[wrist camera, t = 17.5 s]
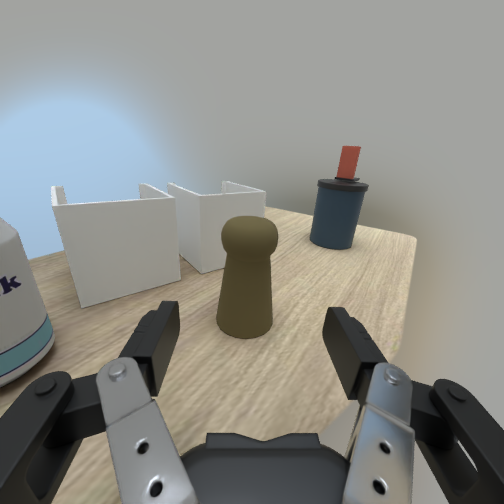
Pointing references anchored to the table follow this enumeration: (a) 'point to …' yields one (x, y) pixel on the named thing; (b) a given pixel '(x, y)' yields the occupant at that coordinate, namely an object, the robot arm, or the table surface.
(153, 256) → the storage container
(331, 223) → the travel cup
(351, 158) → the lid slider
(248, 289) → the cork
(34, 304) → the beverage can
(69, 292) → the table surface
